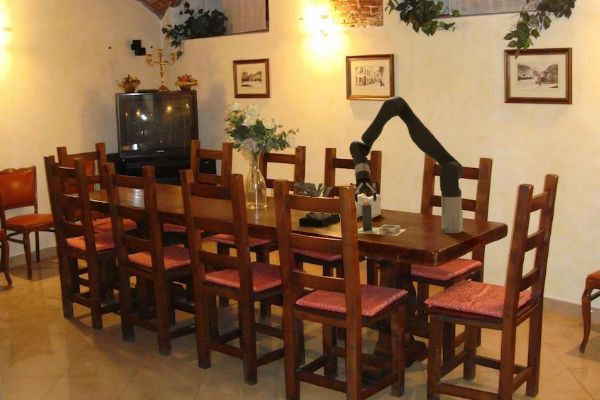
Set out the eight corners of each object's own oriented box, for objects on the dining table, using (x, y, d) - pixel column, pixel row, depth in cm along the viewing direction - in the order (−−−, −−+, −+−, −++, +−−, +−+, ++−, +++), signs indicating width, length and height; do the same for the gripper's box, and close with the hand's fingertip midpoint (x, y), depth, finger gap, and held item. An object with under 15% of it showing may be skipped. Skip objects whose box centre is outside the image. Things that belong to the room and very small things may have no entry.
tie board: (406, 232, 357) (406, 224, 356) (396, 238, 345) (396, 230, 344) (363, 229, 367) (363, 222, 366) (352, 235, 354) (352, 227, 354)
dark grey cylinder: (373, 228, 359) (372, 201, 357) (370, 230, 355) (369, 203, 353) (364, 228, 361) (363, 201, 359) (361, 230, 357) (360, 203, 355)
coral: (318, 229, 371) (317, 186, 367) (284, 226, 382) (283, 184, 378) (343, 220, 391) (342, 179, 388) (311, 217, 402) (309, 178, 399)
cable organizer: (364, 213, 408) (363, 192, 406) (382, 214, 403) (381, 193, 401) (353, 218, 395) (352, 197, 393) (371, 219, 390) (371, 198, 388)
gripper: (348, 170, 367) (351, 197, 358) (377, 169, 368) (381, 196, 358) (348, 179, 374) (350, 206, 364) (376, 178, 374) (379, 205, 365)
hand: (365, 201), depth 361 cm, fingers open, 8 cm apart
